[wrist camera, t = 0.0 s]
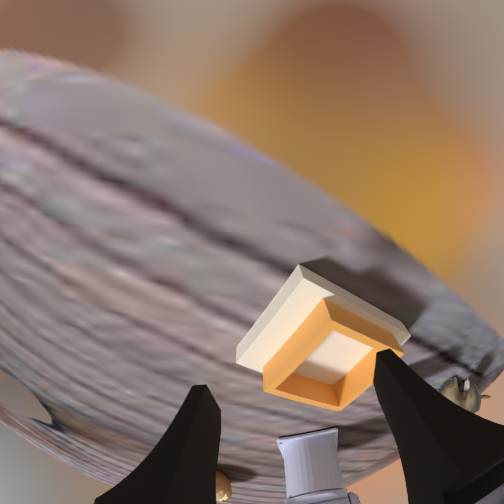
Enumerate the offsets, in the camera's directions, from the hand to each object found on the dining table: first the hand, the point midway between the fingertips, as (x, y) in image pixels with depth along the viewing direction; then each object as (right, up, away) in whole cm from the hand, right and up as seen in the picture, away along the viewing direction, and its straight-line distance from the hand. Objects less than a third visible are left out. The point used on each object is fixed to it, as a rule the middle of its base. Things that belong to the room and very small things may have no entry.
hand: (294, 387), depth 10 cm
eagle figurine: (+28, -14, +18) cm, 36 cm away
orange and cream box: (+4, -2, +12) cm, 13 cm away
